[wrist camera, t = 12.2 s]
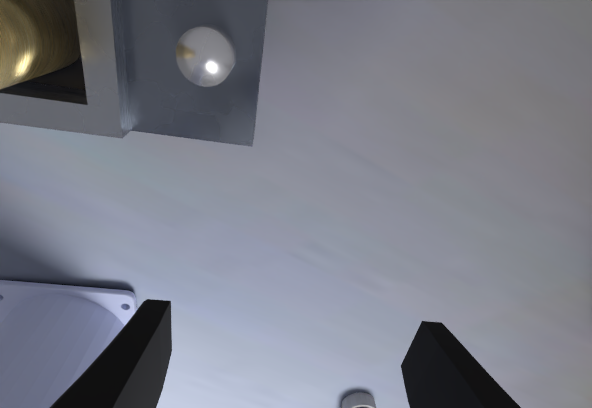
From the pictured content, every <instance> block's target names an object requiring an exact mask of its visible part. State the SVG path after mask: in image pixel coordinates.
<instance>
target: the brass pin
mask: <svg viewBox="0 0 592 408" xmlns="http://www.w3.org/2000/svg"><path fill="white" fill-rule="evenodd" d="M80 55H81V49H80V41H79V34H78V26H77V18H76V11H75V3H74V0H0V89H3V88H6V87H9V86H12V85H15V84H18V83H21V82H24V81H27V80H30V79H33V78H36V77H39V76H42V75H45V74H48V73H51V72H54V71H56V70H59V69H62V68H65V67H68V66H70V65H71V64H73V63H74V62H75V61H76V60H77V59H78V58H79V57H80Z"/></svg>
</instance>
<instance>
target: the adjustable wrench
mask: <svg viewBox="0 0 592 408" xmlns="http://www.w3.org/2000/svg"><path fill="white" fill-rule="evenodd" d="M362 406H363V407H364V408H376V405H375V401H374V398H373V396H371V395H370V394H367V393H354V394H351V395H348V396H347V397H345V398H344V399H343V401H342V406H341V408H356V407H362Z"/></svg>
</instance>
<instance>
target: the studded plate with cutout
mask: <svg viewBox="0 0 592 408" xmlns="http://www.w3.org/2000/svg"><path fill="white" fill-rule="evenodd" d="M74 3H75V11H76V18H77V26H78V34H79V41H80V49H81V57H82V65H83V72H84V80H85V88H86V90H82V89H76V88H69V87H62V86H55V85H48V84H41V83H34V82H27V81H24V82H21V83H18V84H15V85H12V86H9V87H6V88H3V89H0V123H8V124H16V125H24V126H31V127H39V128H47V129H54V130H62V131H70V132H77V133H85V134H93V135H101V136H108V137H116V138H123V137H124V136H125V135H126V134H127V133H129V132H130V131H139V132H146V133H154V134H161V135H169V136H176V137H184V138H191V139H199V140H206V141H214V142H222V143H229V144H237V145H244V146H252V145H253V139H254V130H255V120H256V111H257V101H258V91H259V82H260V72H261V63H262V53H263V44H264V34H265V25H266V15H267V5H268V0H74Z"/></svg>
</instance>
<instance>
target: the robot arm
mask: <svg viewBox="0 0 592 408" xmlns="http://www.w3.org/2000/svg"><path fill="white" fill-rule="evenodd" d="M126 304H128V305H126ZM171 352H172V340H171V301H163V300H150V299H147V300H146V301H144V302H143V303H142V305H141V306H140V307H139V308H138V310H137V308H136V297H135V295H134V293H133V292H131V291H128V290H117V289H105V288H93V287H81V286H68V285H56V284H44V283H32V282H20V281H7V280H0V408H156V406H157V403H158V401H159V398H160V395H161V392H162V389H163V385H164V381H165V377H166V373H167V369H168V365H169V360H170V356H171ZM401 368H402V373H403V379H404V384H405V389H406V393H407V398H408V402H409V405H410V408H521V407H520V406H519V405H518V404H517V403H516V402H515V401H514V400H513V399H512V398H511V397H510V396H509V395H508V394H507V393H506V392H505V391H504V390H503V389H502V388H501V387H500V386H499V384H498V383H497V382H496V381H495V380H494V379H493V378H492V377H491V376H490V375H489V374H488V373H487V372H486V370H485V369H484V368H483V367H482V366H481V365H480V364H479V363H478V362H477V361H476V359H475V358H474V357H473V356H472V355H471V354H470V353H469V352H468V351H467V350H466V348H465V347H464V346H463V345H462V344H461V343H460V342H459V341H458V340H457V339H456V337H455V336H454V335H453V334H452V333H451V332H450V331H449V330H448V329H447V328H446V327H445V326H444V325H443V324H442V323H439V322H426V321H422V322H421V325H420V327H419V329H418V331H417V333H416V335H415V337H414V339H413V341H412V344H411V346H410V348H409V350H408V352H407V354H406V356H405V358H404V360H403V363H402V365H401Z"/></svg>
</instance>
